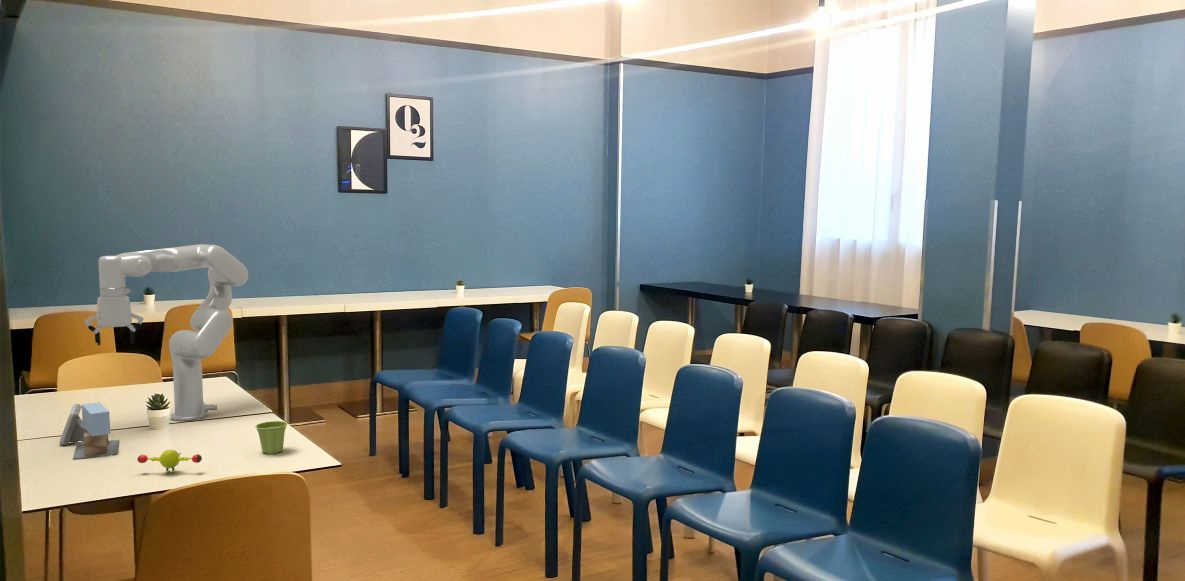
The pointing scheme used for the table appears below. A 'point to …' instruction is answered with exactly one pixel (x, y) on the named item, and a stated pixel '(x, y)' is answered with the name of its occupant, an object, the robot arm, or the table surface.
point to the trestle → (96, 447)
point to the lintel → (96, 419)
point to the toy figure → (169, 459)
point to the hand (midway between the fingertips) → (115, 343)
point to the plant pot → (271, 436)
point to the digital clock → (73, 427)
